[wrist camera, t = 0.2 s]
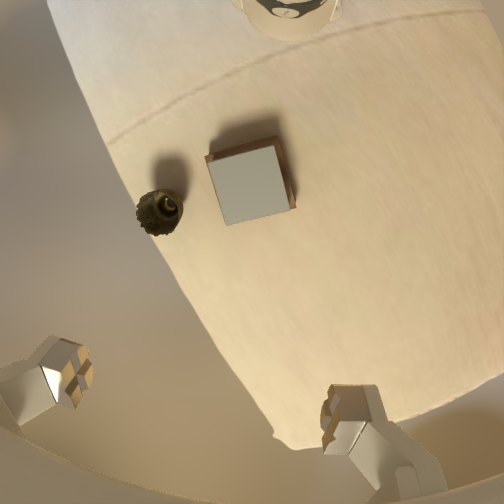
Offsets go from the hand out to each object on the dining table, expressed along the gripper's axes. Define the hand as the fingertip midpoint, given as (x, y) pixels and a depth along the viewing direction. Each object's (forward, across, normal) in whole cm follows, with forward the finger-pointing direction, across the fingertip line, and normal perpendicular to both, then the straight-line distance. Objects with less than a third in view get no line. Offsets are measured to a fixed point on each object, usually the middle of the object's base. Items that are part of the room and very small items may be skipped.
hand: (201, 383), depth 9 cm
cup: (+47, +16, +7) cm, 50 cm away
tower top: (+44, +2, +1) cm, 44 cm away
